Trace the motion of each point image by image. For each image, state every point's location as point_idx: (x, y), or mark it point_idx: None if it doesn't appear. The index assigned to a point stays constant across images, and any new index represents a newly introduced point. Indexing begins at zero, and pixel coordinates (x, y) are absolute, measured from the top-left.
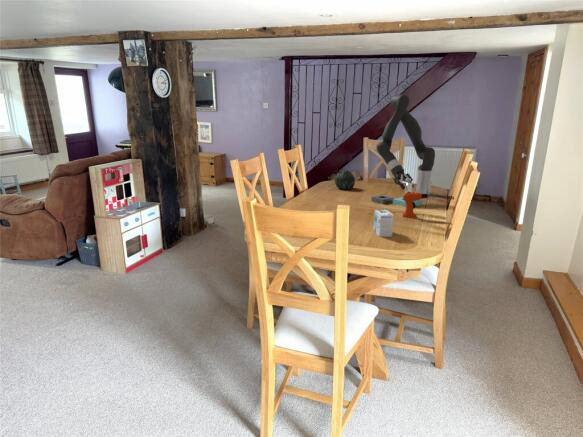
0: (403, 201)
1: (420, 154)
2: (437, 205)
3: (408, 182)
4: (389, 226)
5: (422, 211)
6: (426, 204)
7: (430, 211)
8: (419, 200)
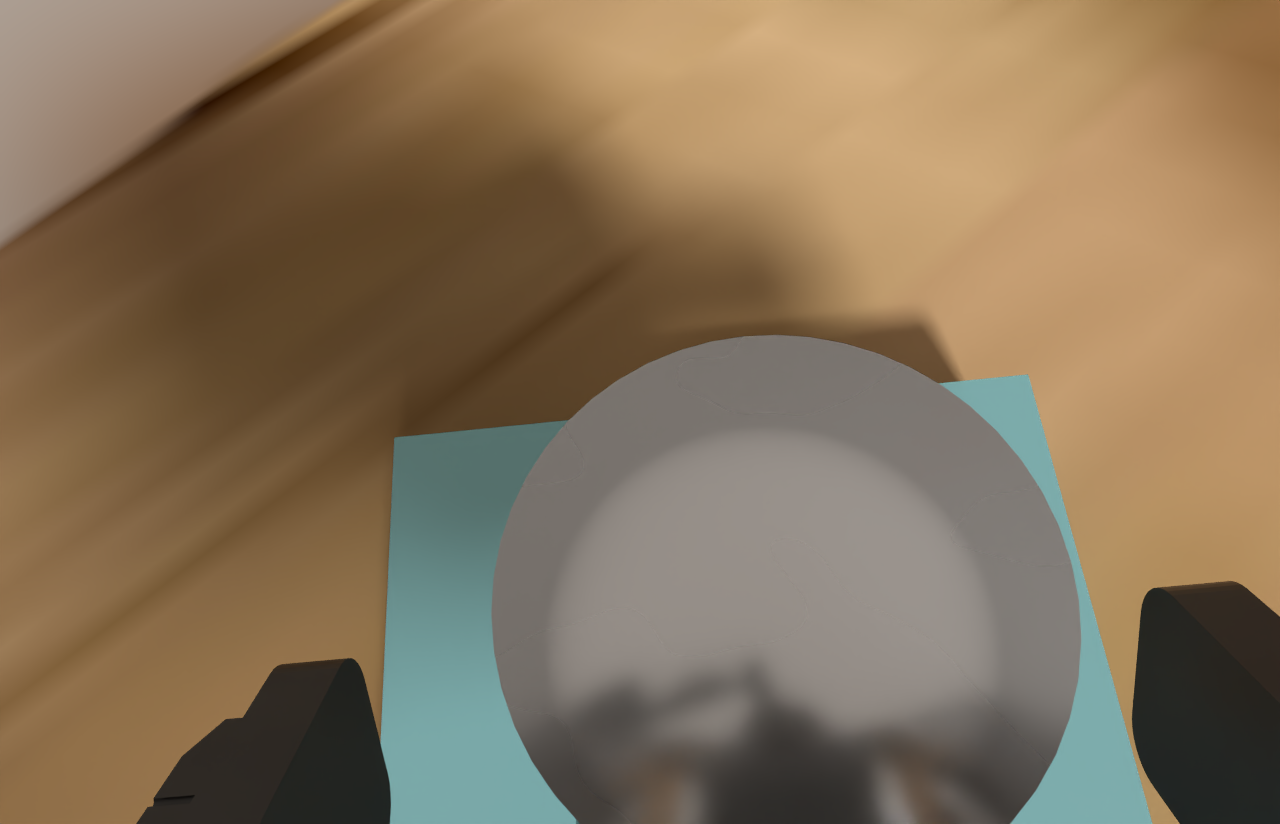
0: (1083, 611)
1: None
2: (179, 299)
3: (778, 680)
4: None
5: (927, 91)
6: (292, 481)
7: (770, 37)
8: (493, 469)
